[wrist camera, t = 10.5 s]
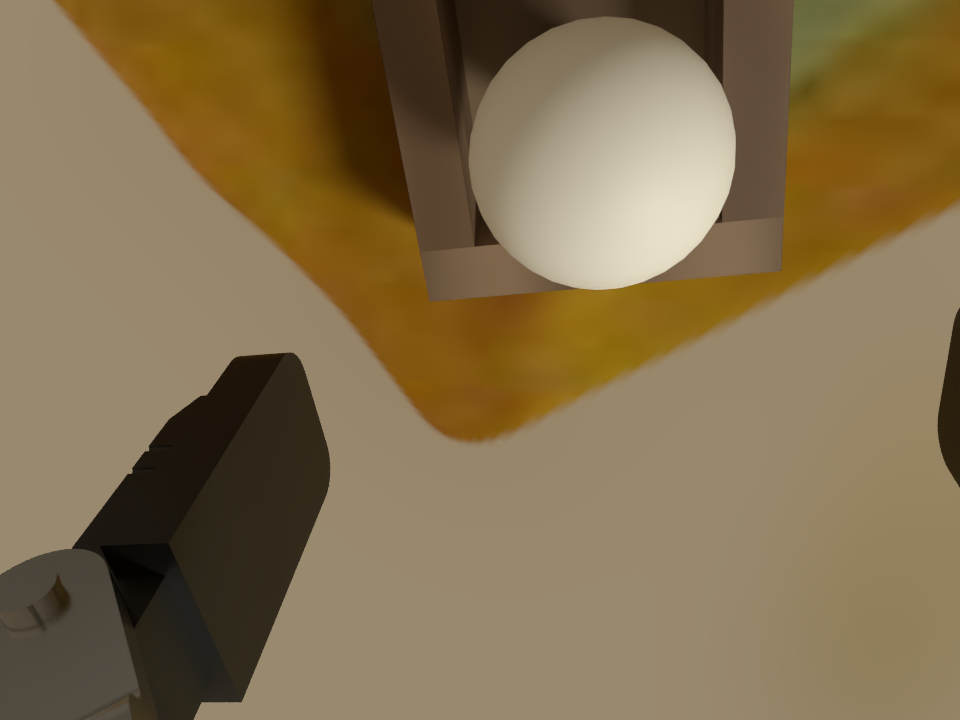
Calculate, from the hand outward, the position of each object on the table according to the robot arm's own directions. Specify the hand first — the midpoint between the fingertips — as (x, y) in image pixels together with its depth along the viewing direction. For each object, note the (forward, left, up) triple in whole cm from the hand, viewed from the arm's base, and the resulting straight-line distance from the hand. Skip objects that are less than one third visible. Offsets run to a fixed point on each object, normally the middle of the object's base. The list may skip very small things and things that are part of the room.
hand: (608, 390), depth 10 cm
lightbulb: (0, 0, -18) cm, 18 cm away
